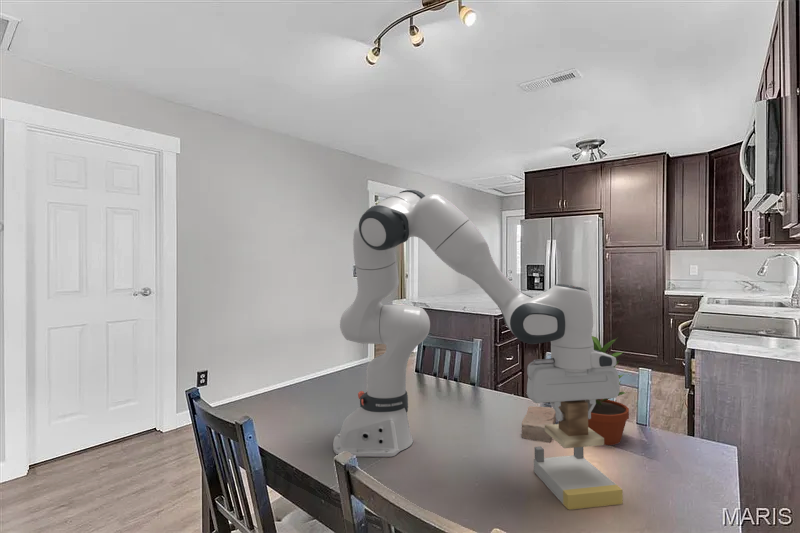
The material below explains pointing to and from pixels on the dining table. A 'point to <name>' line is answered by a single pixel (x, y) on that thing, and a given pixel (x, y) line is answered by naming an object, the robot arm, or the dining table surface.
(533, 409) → the brick
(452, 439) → the dining table surface
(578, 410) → the wooden block on base
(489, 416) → the dining table surface
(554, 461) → the dock
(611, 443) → the potted plant
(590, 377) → the robot arm
